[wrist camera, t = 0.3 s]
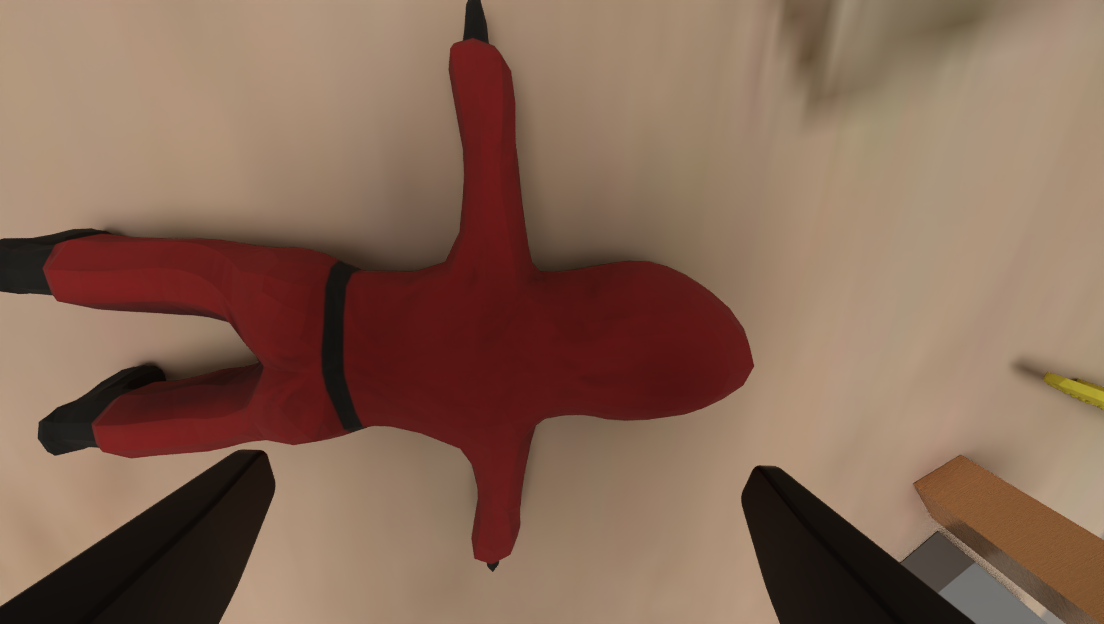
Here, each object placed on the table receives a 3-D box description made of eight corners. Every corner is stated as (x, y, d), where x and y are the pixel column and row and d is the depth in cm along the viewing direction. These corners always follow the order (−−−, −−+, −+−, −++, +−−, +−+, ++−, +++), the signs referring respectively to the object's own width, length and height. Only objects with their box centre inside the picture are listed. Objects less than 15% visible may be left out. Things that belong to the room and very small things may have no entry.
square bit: (932, 518, 29) (1209, 737, 17) (913, 483, 28) (1190, 690, 16) (979, 490, 28) (1293, 695, 17) (960, 454, 27) (1278, 645, 16)
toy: (189, 542, 26) (677, 524, 28) (39, 698, 18) (738, 658, 20) (51, 7, 19) (727, 30, 20) (-309, -134, 11) (859, -76, 12)
